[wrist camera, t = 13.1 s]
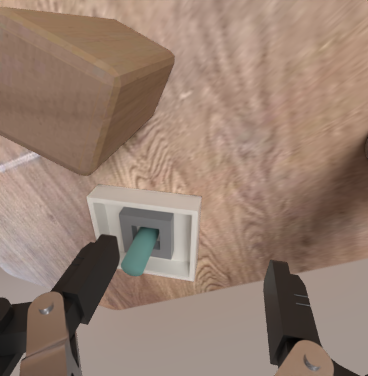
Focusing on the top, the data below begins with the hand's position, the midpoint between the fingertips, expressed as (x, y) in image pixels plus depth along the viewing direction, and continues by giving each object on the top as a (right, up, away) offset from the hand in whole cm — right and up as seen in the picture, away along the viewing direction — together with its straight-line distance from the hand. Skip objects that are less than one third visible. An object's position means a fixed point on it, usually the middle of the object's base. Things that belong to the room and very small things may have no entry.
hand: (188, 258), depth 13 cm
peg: (-7, -5, +37) cm, 38 cm away
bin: (-7, -4, +38) cm, 39 cm away
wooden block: (-7, +20, +23) cm, 32 cm away
